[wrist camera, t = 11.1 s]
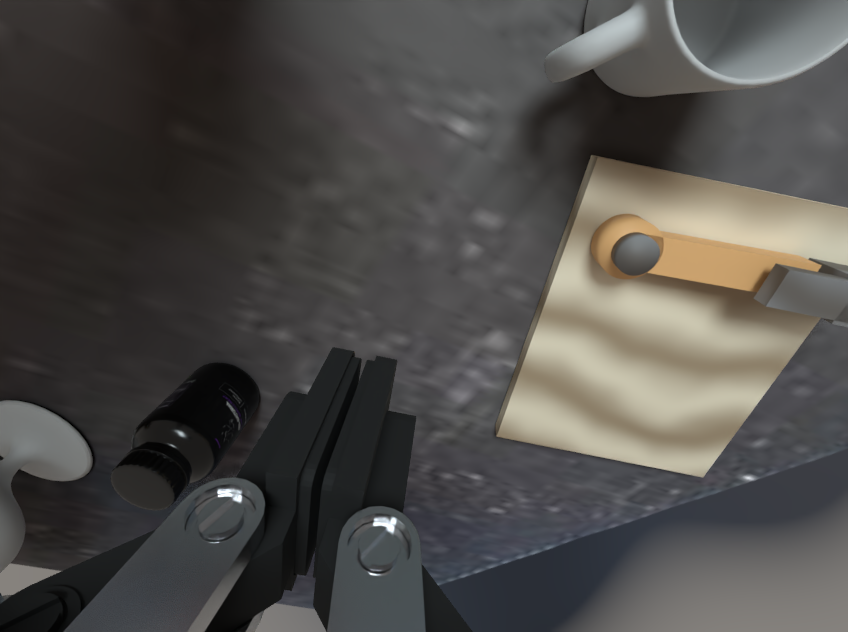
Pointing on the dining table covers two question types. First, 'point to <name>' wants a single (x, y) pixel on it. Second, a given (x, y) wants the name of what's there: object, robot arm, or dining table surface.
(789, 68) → the mug
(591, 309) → the pivot board
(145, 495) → the supplement bottle
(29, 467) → the chalice
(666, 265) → the link
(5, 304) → the dining table surface
